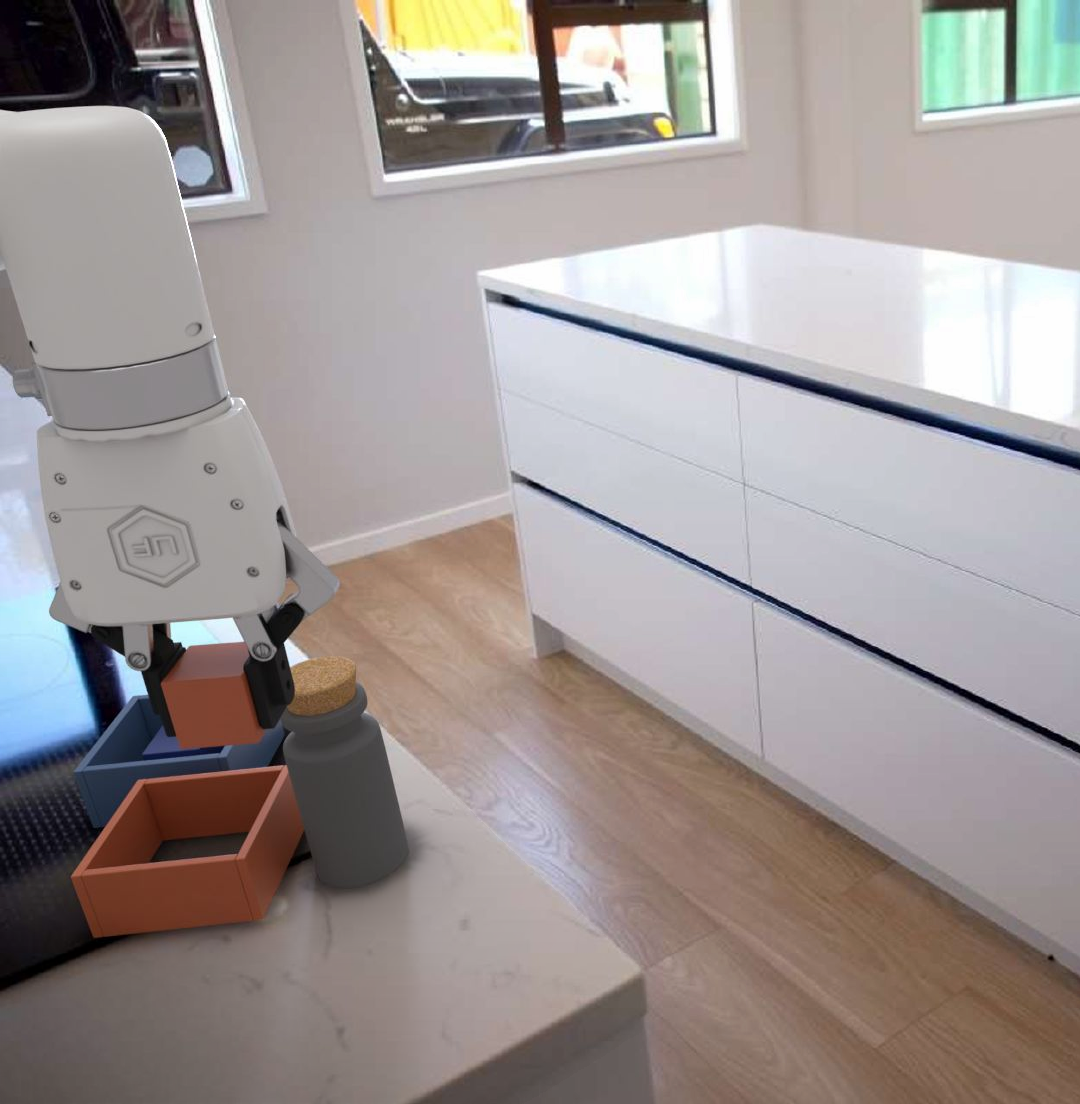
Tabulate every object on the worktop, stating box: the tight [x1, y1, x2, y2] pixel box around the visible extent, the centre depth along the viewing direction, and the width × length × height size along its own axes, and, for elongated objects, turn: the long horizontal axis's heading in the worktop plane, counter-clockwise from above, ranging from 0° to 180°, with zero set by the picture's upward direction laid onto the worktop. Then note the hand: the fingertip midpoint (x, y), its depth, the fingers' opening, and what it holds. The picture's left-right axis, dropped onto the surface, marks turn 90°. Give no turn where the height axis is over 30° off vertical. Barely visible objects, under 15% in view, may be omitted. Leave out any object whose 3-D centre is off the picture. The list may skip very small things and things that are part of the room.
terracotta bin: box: [70, 764, 305, 939], centre depth 81 cm, size 10×10×6 cm
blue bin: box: [73, 694, 286, 829], centre depth 92 cm, size 10×10×6 cm
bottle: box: [280, 655, 410, 889], centre depth 80 cm, size 6×6×15 cm
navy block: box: [142, 726, 225, 761], centre depth 92 cm, size 4×4×4 cm
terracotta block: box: [161, 641, 267, 749], centre depth 66 cm, size 4×4×4 cm
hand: (229, 716), depth 66 cm, fingers closed on terracotta block, 4 cm apart
